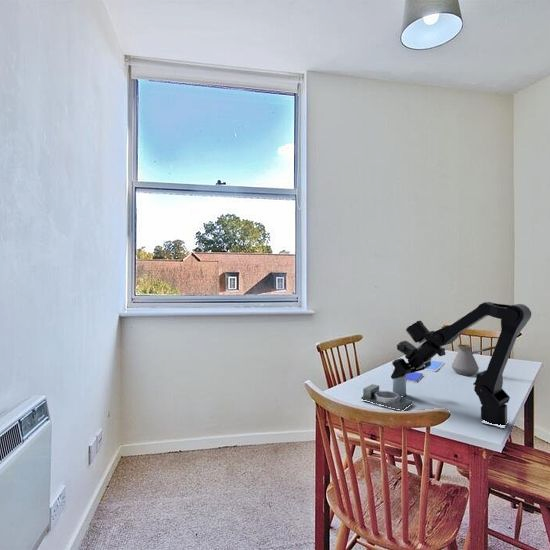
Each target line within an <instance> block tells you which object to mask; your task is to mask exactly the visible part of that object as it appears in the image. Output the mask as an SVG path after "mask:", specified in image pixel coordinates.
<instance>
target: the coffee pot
mask: <svg viewBox="0 0 550 550" xmlns="http://www.w3.org/2000/svg"><path fill="white" fill-rule="evenodd" d="M495 346H496V345H495ZM495 346H488V347H486V348H482V349H479V350H473V351H472V348H473V346H472V345H470V344H457V348H458V350H457V353H456V355H455V357H454V359H453V362H452V363H451V368H452V370H454V372H455V373H456V374H458V375H462V376H463V375H464V376H473V375H475V374H477V372H478V371H479V369H480V367H479V365H478V363H477V361H476V359H475V357H474V354H478V353H482V352H486V351H492V350H494V349H495Z"/></svg>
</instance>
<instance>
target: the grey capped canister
mask: <svg viewBox="0 0 550 550" xmlns="http://www.w3.org/2000/svg"><path fill="white" fill-rule="evenodd" d="M391 365H392V372H393V371H394V369H395V367H394V366H393V364H392V363H391ZM392 392H395V393H397V394H398V395H399V396H405V395H406V396H407V381H406V376H404V377H400V378H395V379H392Z"/></svg>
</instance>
